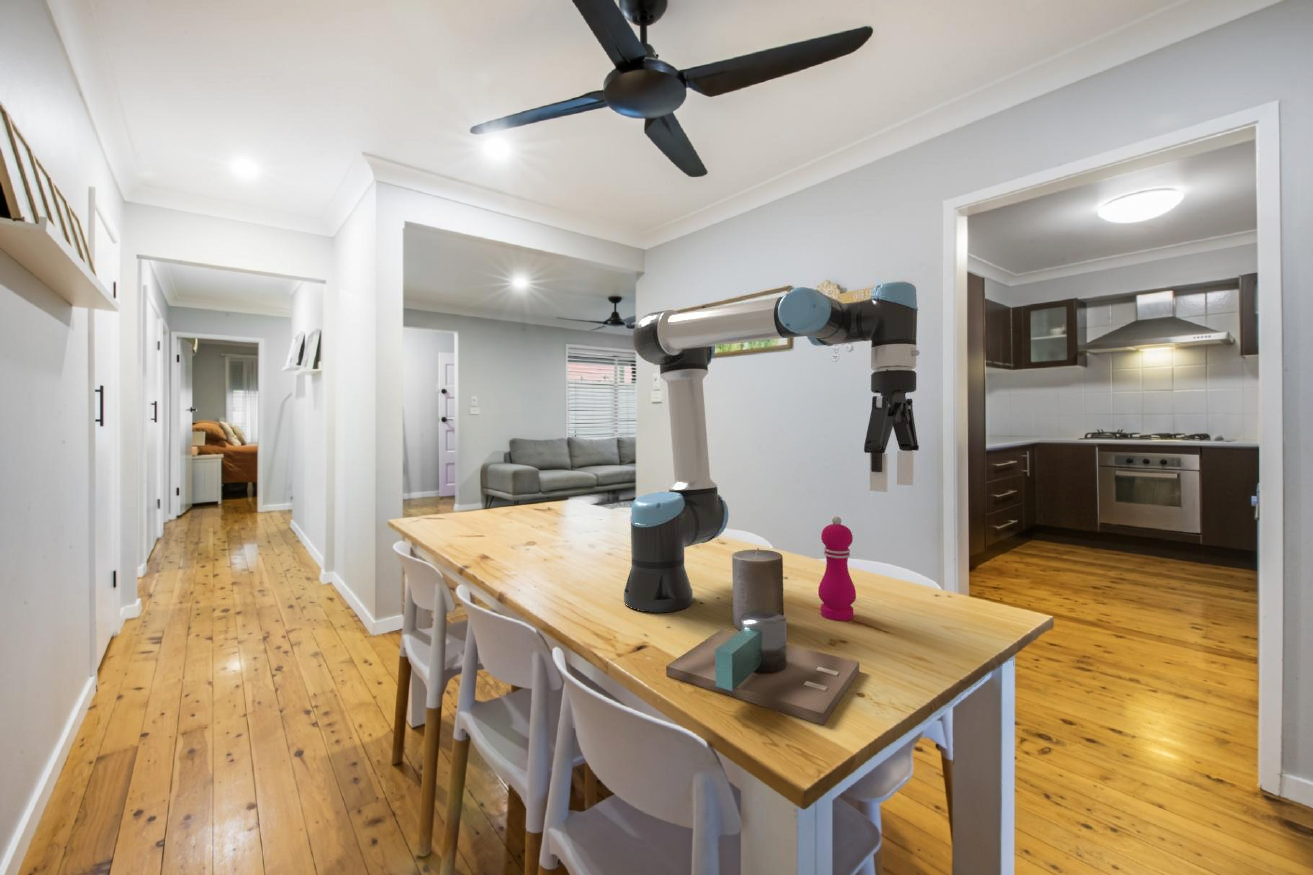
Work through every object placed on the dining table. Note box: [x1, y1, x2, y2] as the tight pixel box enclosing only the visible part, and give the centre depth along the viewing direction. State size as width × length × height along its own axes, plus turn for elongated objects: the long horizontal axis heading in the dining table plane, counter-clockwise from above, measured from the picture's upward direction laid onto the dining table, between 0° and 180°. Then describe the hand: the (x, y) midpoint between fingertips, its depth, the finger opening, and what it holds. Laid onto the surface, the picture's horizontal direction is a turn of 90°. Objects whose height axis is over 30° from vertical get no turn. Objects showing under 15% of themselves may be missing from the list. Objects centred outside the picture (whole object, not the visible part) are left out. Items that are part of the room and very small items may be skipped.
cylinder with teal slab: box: [715, 611, 788, 691], centre depth 77 cm, size 7×16×7 cm, turn 145°
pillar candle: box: [731, 547, 785, 631], centre depth 101 cm, size 10×10×15 cm
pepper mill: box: [817, 516, 857, 622], centre depth 106 cm, size 7×7×20 cm
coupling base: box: [665, 629, 860, 726], centre depth 81 cm, size 24×18×2 cm
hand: (892, 488), depth 95 cm, fingers open, 13 cm apart
